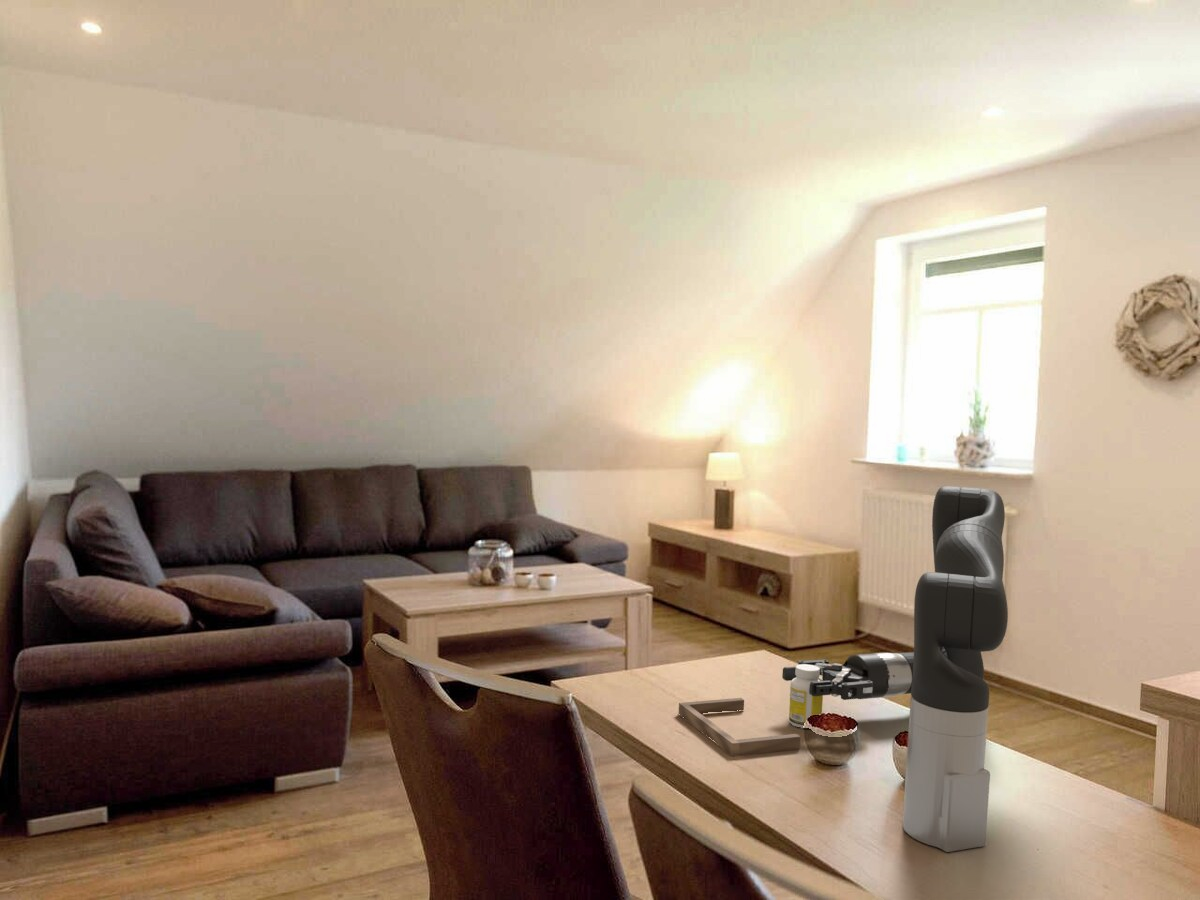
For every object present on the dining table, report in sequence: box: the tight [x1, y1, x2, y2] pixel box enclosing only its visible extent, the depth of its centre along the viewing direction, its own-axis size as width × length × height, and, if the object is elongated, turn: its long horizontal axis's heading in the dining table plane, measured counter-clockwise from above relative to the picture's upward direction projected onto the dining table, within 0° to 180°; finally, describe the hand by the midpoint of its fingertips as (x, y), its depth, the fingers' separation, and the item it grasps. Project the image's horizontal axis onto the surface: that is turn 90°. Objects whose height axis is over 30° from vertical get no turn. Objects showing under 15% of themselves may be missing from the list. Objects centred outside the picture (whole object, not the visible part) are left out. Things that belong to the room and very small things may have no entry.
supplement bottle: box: [788, 664, 824, 730], centre depth 156 cm, size 5×5×10 cm
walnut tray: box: [678, 697, 801, 757], centre depth 151 cm, size 19×12×2 cm, turn 20°
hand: (796, 681), depth 155 cm, fingers open, 8 cm apart
